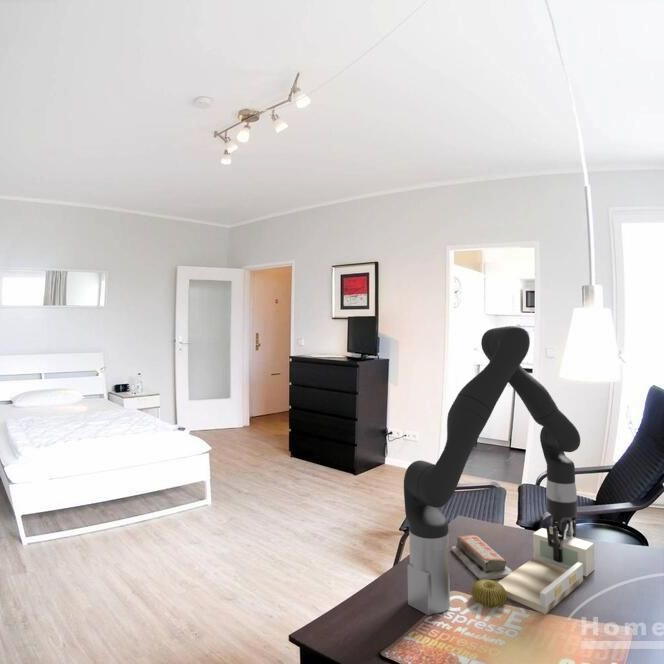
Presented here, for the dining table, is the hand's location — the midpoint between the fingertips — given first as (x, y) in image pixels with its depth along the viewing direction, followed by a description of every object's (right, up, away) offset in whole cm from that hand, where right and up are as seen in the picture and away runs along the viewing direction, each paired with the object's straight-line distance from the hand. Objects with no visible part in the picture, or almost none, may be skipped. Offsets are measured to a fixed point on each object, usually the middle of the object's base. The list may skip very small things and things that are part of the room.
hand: (562, 557), depth 129 cm
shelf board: (-12, -2, -11) cm, 16 cm away
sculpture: (-26, -2, -17) cm, 31 cm away
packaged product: (-22, -3, +2) cm, 22 cm away
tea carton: (0, -2, 0) cm, 2 cm away
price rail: (-8, 0, -16) cm, 17 cm away
